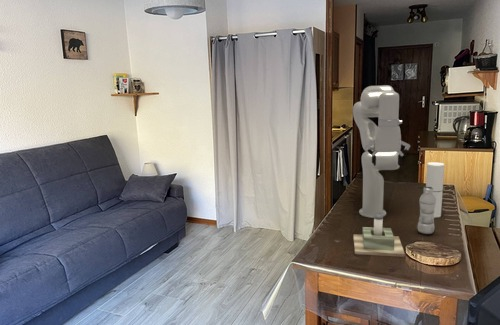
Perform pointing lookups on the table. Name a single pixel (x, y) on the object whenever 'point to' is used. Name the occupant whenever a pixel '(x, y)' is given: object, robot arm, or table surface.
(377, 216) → the peg
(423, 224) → the plastic bottle
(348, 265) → the table surface
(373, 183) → the robot arm
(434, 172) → the cylindrical container
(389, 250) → the socket
